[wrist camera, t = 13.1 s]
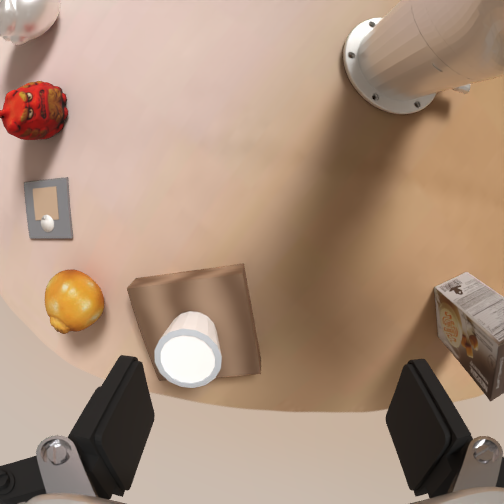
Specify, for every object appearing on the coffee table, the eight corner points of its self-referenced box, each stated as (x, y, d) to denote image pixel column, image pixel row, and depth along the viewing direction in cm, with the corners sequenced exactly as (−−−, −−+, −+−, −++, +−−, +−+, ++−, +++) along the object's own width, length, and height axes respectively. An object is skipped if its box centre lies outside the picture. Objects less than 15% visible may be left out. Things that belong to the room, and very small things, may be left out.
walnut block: (244, 261, 39) (242, 273, 35) (260, 355, 43) (260, 373, 39) (138, 276, 40) (126, 288, 36) (165, 363, 44) (159, 380, 40)
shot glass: (160, 308, 36) (147, 331, 29) (218, 303, 37) (217, 326, 30) (170, 360, 37) (161, 390, 30) (225, 355, 38) (226, 386, 31)
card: (68, 177, 35) (66, 177, 35) (73, 237, 38) (71, 238, 37) (25, 182, 35) (23, 182, 35) (31, 237, 38) (29, 238, 37)
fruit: (96, 324, 42) (71, 354, 34) (56, 288, 40) (25, 312, 32) (122, 288, 40) (97, 316, 32) (78, 248, 38) (46, 268, 31)
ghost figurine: (20, 18, 28) (-20, 2, 18) (68, -16, 27) (32, -41, 17) (24, 61, 30) (-21, 50, 21) (75, 26, 29) (34, 3, 20)
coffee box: (469, 320, 40) (527, 379, 25) (436, 337, 41) (489, 404, 26) (467, 269, 38) (537, 320, 23) (432, 285, 39) (497, 347, 23)
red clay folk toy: (75, 129, 34) (-6, 127, 19) (36, 148, 34) (-44, 156, 20) (67, 77, 31) (-10, 57, 17) (29, 98, 32) (-48, 91, 18)
